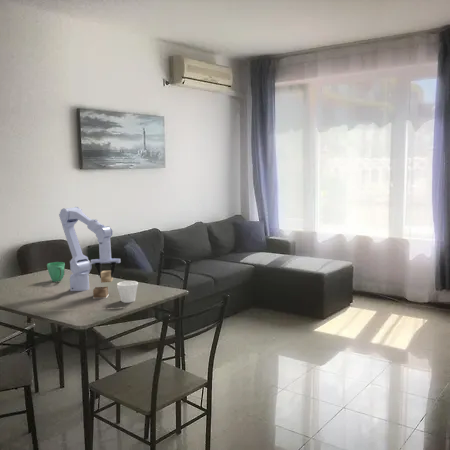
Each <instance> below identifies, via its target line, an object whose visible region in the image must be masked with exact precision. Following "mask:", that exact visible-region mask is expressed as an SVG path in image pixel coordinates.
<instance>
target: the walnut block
mask: <svg viewBox="0 0 450 450" xmlns="http://www.w3.org/2000/svg"><path fill="white" fill-rule="evenodd" d="M92 291H93V292H92V293H93V297H94V298H93V299H107V298H108V297H109V296H108V294H109V287H108V286H95V288H93V289H92ZM107 296H108V297H107ZM106 297H107V298H106Z"/></svg>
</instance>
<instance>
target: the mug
mask: <svg viewBox="0 0 450 450" xmlns="http://www.w3.org/2000/svg"><path fill="white" fill-rule="evenodd" d="M65 265H66V264H65V262H63V261H54V262H49V263H47V264H46V267H47V271H48V274H49V277H50V280H51V281H52V282H55V283H57V282H61V281H62V280H63V278H64V276H65Z"/></svg>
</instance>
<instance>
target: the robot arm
mask: <svg viewBox="0 0 450 450" xmlns="http://www.w3.org/2000/svg"><path fill="white" fill-rule="evenodd" d="M58 216H59V219H60V223H61V224H62V226H61V227H62V229H63V232H64V236H65V238H66V242H67V244H68V248H69V251H70V253H71V257H72V258H71V259H70V260H69V266H70V272H71V273H72V274H70V276H69V289H70V290H69V291H70V292H76V291H77V292H84V291H88V290H90V277H89V275H90V272H91V270H92V265H94V268H96V271H97V272H98V276H99V278H100V279H101V272H102V271H103V270H102V264H110V265H109V267H110V270H111V277H113V278H114V273H115V269H116V267H117V264H120V263H121V262H122V261H121V258H115V257H114V258H112V248H111V247H112V245H111V242H112V241H111V237H112V236H113V229H112V228H111V227H110V225H107V226H105V225H104V224H102V223H101V222H100V221H98V219H97V218H96V219H94V218H92V219H91V218H90V217H89V216H87V215H86V213H84V212H83V209H81V208H80V207H79V206H75V207H66V208H62V209H60V211H59V213H58ZM78 221H80V222H82V223H83V224H84V225H86V226H87V229H88V230H90V231H91V232H92V233H94V234H95V236H96V239H97V242H98V248H99V249H98V251H99V252H98V253H99V254H98V255H99V258H95V259H90V260H89V257H88V256H87V255H85V254H83V249H82V247H81V244H80V241H79V238H78V235H77V233H76V230H75V224H77V223H78Z"/></svg>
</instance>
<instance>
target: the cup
mask: <svg viewBox="0 0 450 450" xmlns="http://www.w3.org/2000/svg"><path fill="white" fill-rule="evenodd" d="M138 286H139V282H138V281H136V280H124V281H120V282H117V283H116V287H117V291H118V294H119V298H120V301H121V303H127V304H128V303H133V302H135V301H136V299H137V298H136V297H137V291H138Z"/></svg>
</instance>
